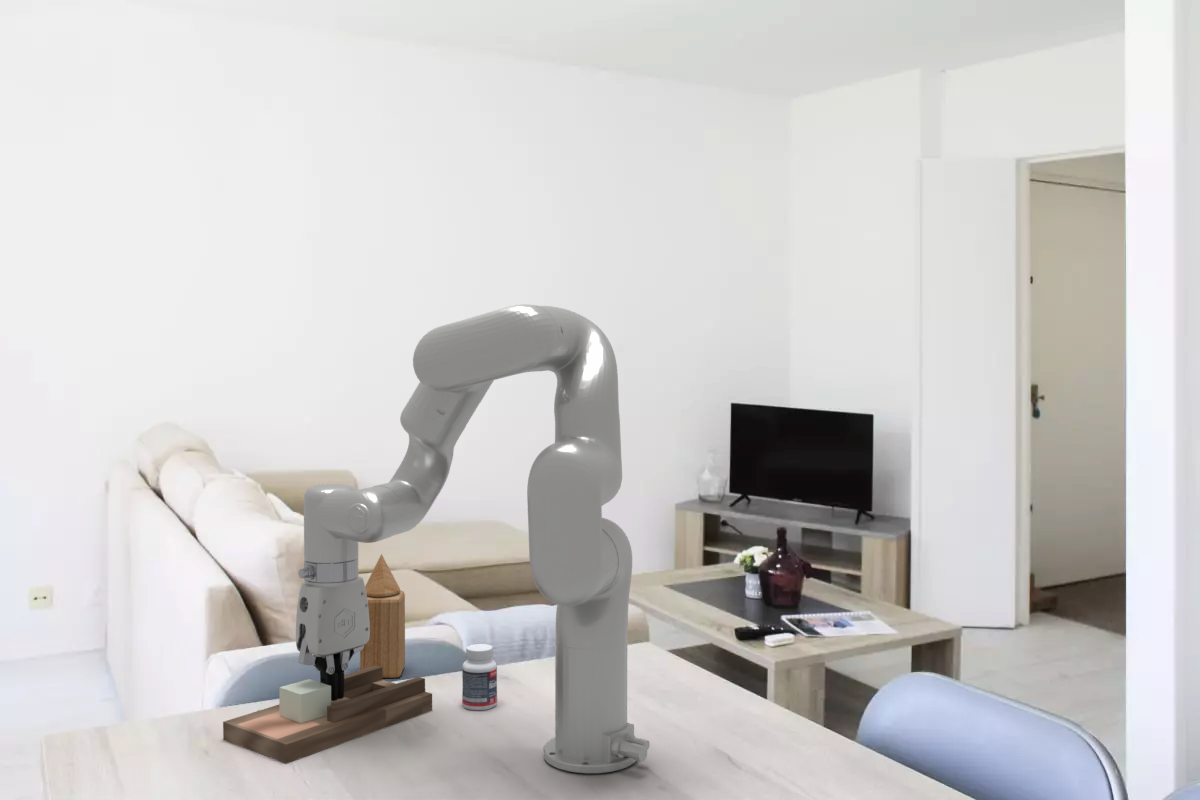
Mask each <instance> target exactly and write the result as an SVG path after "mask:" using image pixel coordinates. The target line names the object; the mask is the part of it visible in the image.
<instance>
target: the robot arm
mask: <svg viewBox="0 0 1200 800" xmlns="http://www.w3.org/2000/svg"><path fill="white" fill-rule="evenodd" d="M412 366H413V371H414V375H415V376H416V378H417V380H418V381H419V382H418V385H416V388H415V389H414V391H413V392H412V395H411V397H410V398H409V399H408V401H407V403H406V404H405V406H404V408H403V410H402V411H401V414H400V425H401V427H402V428H403V430H404V431H405V432H406V434H408V438H409V439H408V447H407V450H406V452H405V455H404V456H403V458H402V461H401V462H400V464H399V466H398V467H397V469H396V471H395V473H394V474H393V475H392V477H391V479H390V480H389V482H386V483H381V484H377V485H374V486H370V487H366V488H362V489H356V488H355V487H354V486H352V485H349V484H343V483H324V484H323V483H322V484H317V485H313V486H309V487H308V488H307V489H306V490H305V493H304V494H303V568H301V569H299V570H298V577H299V578H300V579H304V580H303V581H304V582H302V583H301V584H300V588H299V593H298V599H297V600H298V601H297V605H296V606H297V607H296V618H295V620H296V621H295V645H296V649H297V651H298V652H299V655H298V663H299V664H302V665H304V666H314V668H315V669H316V671H317V672H319V675H320V677H319V678H320V679H319V680H320V681H319V682H320V683H323V684H326V685H330V686H331V700H332V701H336V700H338V699H342V698H344V675H345V671H346V670H348V668H349V663H350V661H351V659H352V657H353V656H354V655H355V654H357V653H360V651H361V650H362V649H363V648H364V645H365V644H366V643H367V642H368V641H369V638H370V622H369V609H368V600H367V593H366V589H365V586H366V584H365V581H364V578H363V577H362V576H359V543H362V544H363V543H364V544H368V543H370V544H371V543H377V542H381V541H383V540H387V539H389V538H392V537H393V536H396V535H400V534H402V533H406V532H409V531H411V530H413V529H414V528H416V526H417V525H419V524H420V523H421V522H422V520H423V519H424V518H425V516H426V515H427V514H428V512H429V510H430V509H431V507H432V506H433V504H434V503H435V501H436V499H437V498H438V496H439V495H440V493H441V492H442V489H443V488H444V486H445V485H446V482H447V479H448V477H449V474H450V470H451V466H452V463H453V459H454V458H453V457H454V451H455V450H454V449H455V446H456V444H457V442H458V441H459V439H460V437H461V435H462V434H463V432H464V431H465V429H466V426H467V425H468V423H469V421H470V420H471V418H472V417H473V415H474V413H475V412H476V410H477V408H478V407H479V405H480V403H482V400H483V399H484V397H485V396H486V394H487V393H488V391H489V389H490V388H491V386H492V384H493V382H494V381H496V380H499V379H503V378H506V377H508V378H509V377H510V376H515V375H519V374H525V373H533V372H534V373H535V372H547V371H548V372H551V373H552V372H553V374H555V377H556V388H555V389H556V390H555V396H554V403H553V405H554V407H553V412H554V413H553V414H554V443H552V444H549V445H548V446H546V447H545V448H544V449H542V451H541V452H540V453H539V454H538V455H537V456H536V457H535V459H534V461H533V462H532V465H531V466H530V467H531V468H530V471H529V474H528V478H527V492H526V493H527V495H526V497H527V499H526V501H527V524H528V525H527V527H528V528H527V529H528V530H527V531H528V550H529V554H528V556H529V565H530V573H531V577H532V579H533V582H534V584H535V587H536V589H537V590H538V591H539V593H540V594H541V595H542V596H543V597H544V598H545V599H547V601H549V602H551V603H553V604H555V605H556V613H555V640H554V641H555V643H554V646H555V647H554V648H555V651H554V654H555V655H554V656H555V658H554V659H555V660H554V666H555V667H554V669H555V670H554V671H555V673H554V675H555V676H554V678H555V680H554V683H555V687H554V688H555V692H554V693H555V694H554V696H555V697H554V701H555V702H554V703H555V704H554V706H555V707H554V709H555V710H554V712H555V713H554V715H555V716H554V717H555V718H554V724H555V725H554V726H555V727H554V728H555V729H554V731H555V732H554V733H555V734H554V735H555V737H553V738H550V740H549V741H548V740H547V742H546V743H545V744H544V746H543V758H544V760H545V762H546V763H548V764H549V765H550V766H552V767H553V768H556V769H559V770H562V771H566V772H571V773H576V774H605V773H612V772H616V771H621V770H623V769H626V768H628V767H630V766H632V765H633V764H635V763H636V762H637V761H638V762H644V761H645V760H646V758H647V756H648V750H649V749H650V745H651V744H650V741H649V740H647V739H643V738H638V737H636V735H635V724H634V723H629V722H628V642H629V641H628V639H629V638H628V637H629V634H628V633H629V604H630V603H629V602H630V592H631V591H630V590H631V583H632V582H631V581H632V573H633V552H632V546H631V543H630V540H629V537H628V536H627V534H626V533H625V531H624V530H623V529H622V527H620V525H619V524H616V523H615V522H614V521H613V520H610V519H608V518H605V517H602V514H603V512H602V507H603V506H604V505H606V504H607V503H610V501H612V500H613V499H614V498H615V497H616V496H617V494H618V493H619V491H620V489H621V487H622V486H621V485H622V481H623V464H622V443H621V442H622V440H621V420H620V419H621V416H620V405H619V376H618V375H619V374H618V364H617V360H616V355H615V351H614V349H613V346H612V344H611V342H610V340H609V339H608V337H607V336H606V334H605V333H604V332H603V330H602V329H601V328H600V327H599V326H598V325H597V324H595V323H594V322H593V321H592V320H590V319H589V318H587V317H585V316H583V315H581V314H580V313H577V312H575V311H571V310H569V309H566V308H562V307H559V306H557V307H556V306H551V305H535V304H515V305H510V306H508V307H507V306H506V307H503V308H499V309H496V310H491V311H489V312H485V313H482V314H480V315H476V316H472V317H469V318H465V319H461V320H458V321H455V322H451V323H448V324H445V325H441V326H437V327H435V328H433V329H431V330H430V331H428V332H426V334H425V335H423V336H422V337H421V339H420V340H419V341H418V343H417V345H416V346H415V349H414V353H413V357H412Z"/></svg>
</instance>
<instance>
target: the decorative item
mask: <svg viewBox="0 0 1200 800" xmlns="http://www.w3.org/2000/svg"><path fill="white" fill-rule="evenodd" d="M389 567H390V566H388V563H387V562H386V560H385V558H384V556H383V554H380V556H379V558H378V559H377V562H376V563H375V565H374V568H373V570H372V572H371V574H370V575H369V578H368V580H367V582H366V584H365V589H366V593H367V600H368V609H369V622H370V638H369V641H368V642H367V643H366V644H365V645H364V648H363V649H362V650H361V651H359V668H360V670H362V669H366V668H369V667H372V666H380V667H382V679H383V678H384V679H386V678H387V679H391V678H392V679H397V678H399V677H401V675H402V673H403V670H404V668H405V666H406V614H405V613H406V611H405V610H406V609H405V608H406V605H405V604H406V600H405V599H406V596H405V595H406V593H405V592H404V591H403V590H402V589H401V587H400V585H399V584H398V581H396V579H395V577H394V575H393V573H392V571H391V569H390V568H389Z"/></svg>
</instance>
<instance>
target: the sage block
mask: <svg viewBox="0 0 1200 800" xmlns="http://www.w3.org/2000/svg"><path fill="white" fill-rule="evenodd" d="M278 690H279V691H278V692H279V693H278V694H279V699H278V700H279V701H278V702H279V704H278V705H279V713H280V716H282V717H285V718H288V719H290V720H293V721H296V722H299V723H304V722H307V721H310V720H314V719H317V718H320V717H323V716H327V706H330V705H331V686H330V685H326V684H323V683H320V681H316V680H314V679H310V678H309V679H304V680H301V681H298V682H294V683H289V684H286V685H283V686H279V689H278Z"/></svg>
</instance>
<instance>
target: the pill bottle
mask: <svg viewBox="0 0 1200 800" xmlns="http://www.w3.org/2000/svg"><path fill="white" fill-rule="evenodd" d="M465 651H466V652H465V655H466V658H467V659H466V660H465V661H464V662H463V663H462V666H461V667H462V671H461V672H462V675H461V676H462V678H461V679H462V689H461V690H462V692H461V693H462V695H461V697H462V699H461V700H462V707H463V708H464V709H467V710H470V711H486V710H489V709H493V708H495V707H496V706H497V704H498V669H497V668H498V667H497V666H498V665H497V662H496V661H495V660H493V659H492V658H493V656H494V648H493V645H490V644H485V643H477V644H470V645H468V646H466V648H465Z"/></svg>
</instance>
